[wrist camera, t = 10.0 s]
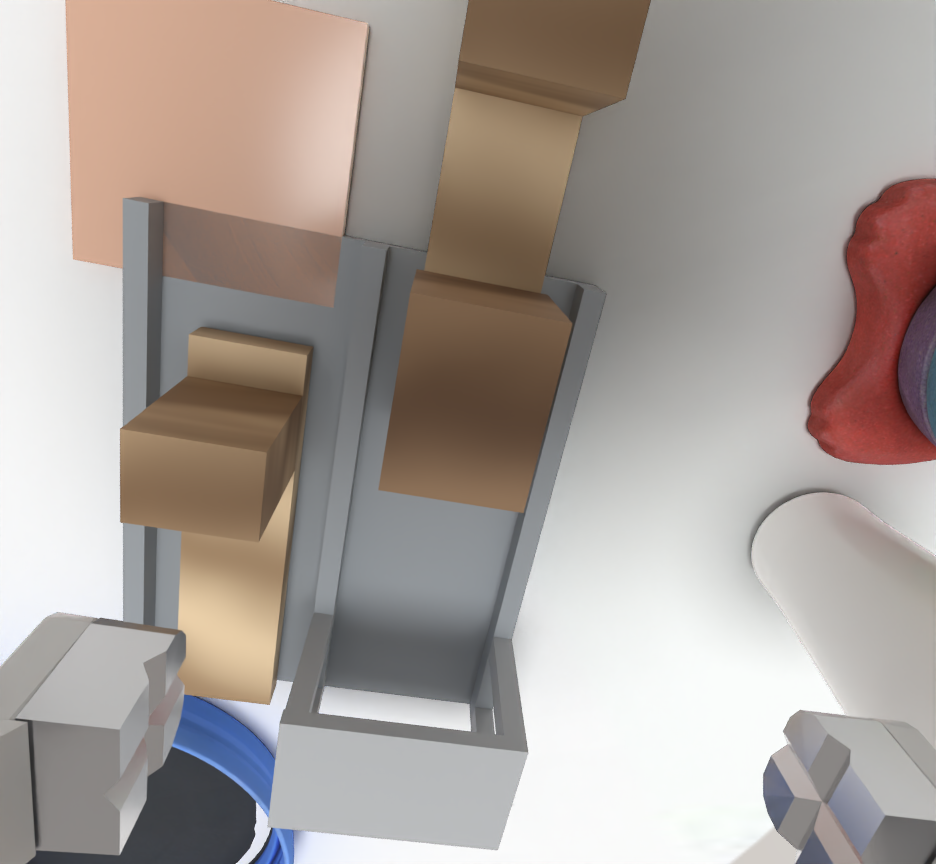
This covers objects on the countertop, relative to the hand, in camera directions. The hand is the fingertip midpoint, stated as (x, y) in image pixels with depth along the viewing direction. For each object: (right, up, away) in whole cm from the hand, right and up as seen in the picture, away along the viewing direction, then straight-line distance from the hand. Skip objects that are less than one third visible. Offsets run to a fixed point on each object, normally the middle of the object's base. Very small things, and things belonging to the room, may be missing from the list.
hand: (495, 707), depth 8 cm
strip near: (0, +11, +14) cm, 18 cm away
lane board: (-5, +1, +18) cm, 19 cm away
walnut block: (0, +6, +14) cm, 15 cm away
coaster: (-9, +13, +13) cm, 21 cm away
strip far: (-10, 0, +18) cm, 21 cm away
